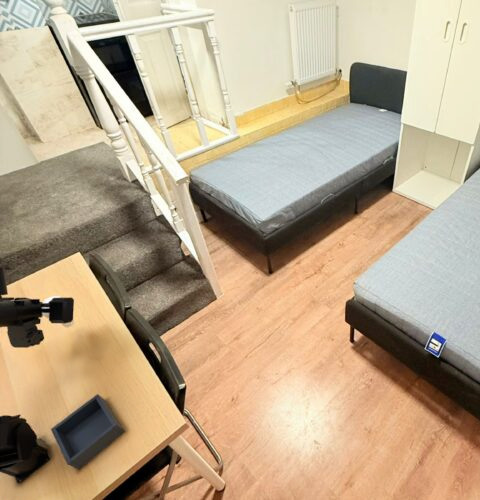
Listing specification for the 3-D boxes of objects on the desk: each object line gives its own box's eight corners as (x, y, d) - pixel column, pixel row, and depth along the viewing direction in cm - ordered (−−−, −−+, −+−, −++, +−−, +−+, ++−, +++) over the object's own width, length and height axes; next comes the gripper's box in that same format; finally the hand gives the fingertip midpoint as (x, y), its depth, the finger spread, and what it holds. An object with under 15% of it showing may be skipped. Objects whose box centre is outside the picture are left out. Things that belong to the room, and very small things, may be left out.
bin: (79, 470, 74) (67, 464, 71) (62, 435, 79) (50, 429, 76) (125, 431, 79) (116, 424, 76) (106, 401, 85) (97, 393, 81)
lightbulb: (85, 325, 94) (65, 299, 87) (61, 338, 91) (38, 313, 84) (79, 313, 98) (58, 287, 91) (55, 325, 95) (32, 300, 87)
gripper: (-37, 349, 75) (26, 336, 91) (43, 350, 75) (93, 336, 90) (-34, 300, 76) (28, 295, 92) (46, 300, 76) (94, 295, 91)
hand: (61, 306), depth 91 cm, fingers closed on lightbulb, 6 cm apart
